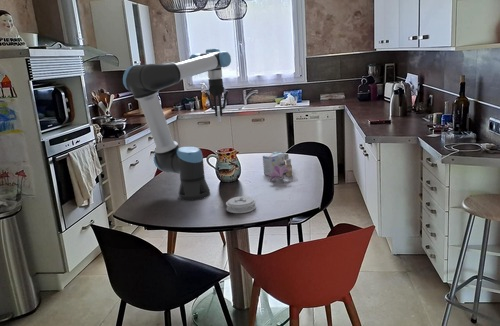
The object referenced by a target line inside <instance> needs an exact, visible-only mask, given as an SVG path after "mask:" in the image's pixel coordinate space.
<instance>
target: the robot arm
mask: <svg viewBox="0 0 500 326" xmlns="http://www.w3.org/2000/svg"><path fill="white" fill-rule="evenodd" d="M231 63H232V58H231V54H230V53H229V52H228V51H220V49H219V48H210V49H209V48H208V49H206V50H205V52H203V53H192V54H191V55H190V56H189V58H188V59H187V60H184V61H180V62H172V61H171V62H170V61H169V62H167V63H149V64H148V63H147V64H134V65H131V66H128V67H127V68H126V69H125V70H124V72H123V75H122V76H123V77H122V84H123V86H124V87H125V89H126V90H128V91H129V92H131V94H132V95H133V98H134V100H137V101H138V102H139V105H140V107H141V110H142V112H143V115H144V117H145V120H146V123H147V125H148V128H149V131H150V133H151V136H152V138H153V141H154V144H155V149H154V154H153V155H154V156H153V163H154V165H155V166H156V168H157V169H158V170H160V171H162V172H164V173H165V172H166V173H173V174H179V179H180V183H179V188H178V193H177V194H178V195H177V196H178V199H179V200H181V201H185V202H187V201H189V202H193V201H199V200H203V199H206V198H208V197H210V195H211V191H210V187H209V186H208V183H207V180H206V178H205V177H206V176H205V165H204V156H203V152H202V149H200V148H199V147H196V146H182V147H179V143H178V142H177V141H175V140H174V139H173V136H172V134H171V131H170V128H169V125H168V122H167V119H166V117H165V113H164V111H163V108H162V106H161V103H160V99H159V97H158V93H159V92H160V90H164V89H166V88H169V87H171V86H174V85H177V84H179V83H180V82H181V81H182V80H184V79H187V78H190V77H193V76H198V75H201V74H204V73H207V77H208V90H207V91H206V92H205V93H204V95H205V96H206V98H207V100H208V103H209V105H210V108H211V110H212V111H214V113H215V114H214V115H215V117H217V123H221V122H222V116H223V110H224V109H225V108H226V103H227V97H228V94H229V90H227V89H225V87H224V83H223V82H224V79H223V71H222V68H227V67H229V66H230V65H231ZM223 94H224V95H223ZM211 95H212V96H213V101H212V98H211ZM222 95H223V103H222ZM217 98H218V103H217ZM218 107H219V109H218Z"/></svg>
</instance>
